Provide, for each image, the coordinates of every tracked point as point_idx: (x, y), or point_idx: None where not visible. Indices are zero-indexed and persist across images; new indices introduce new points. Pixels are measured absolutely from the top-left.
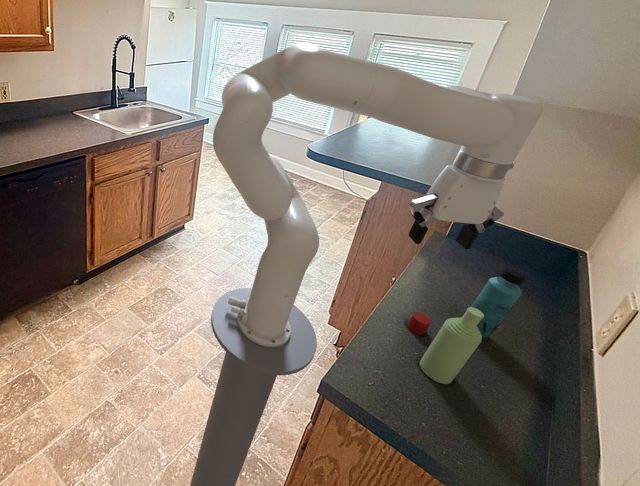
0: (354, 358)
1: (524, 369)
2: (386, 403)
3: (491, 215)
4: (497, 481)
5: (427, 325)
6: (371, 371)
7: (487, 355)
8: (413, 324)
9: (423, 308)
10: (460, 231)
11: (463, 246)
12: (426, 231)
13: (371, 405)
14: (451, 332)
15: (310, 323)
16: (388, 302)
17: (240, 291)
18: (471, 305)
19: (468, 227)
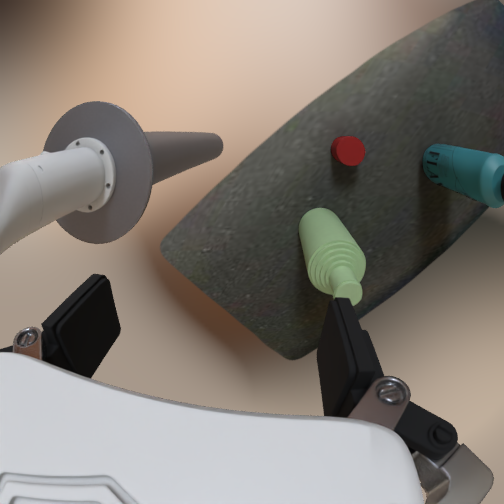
0: (199, 212)
1: (445, 226)
2: (214, 274)
3: (435, 483)
4: (288, 339)
5: (352, 165)
6: (216, 232)
7: (419, 203)
8: (334, 153)
9: (388, 107)
10: (338, 337)
11: (318, 348)
12: (91, 375)
13: (194, 276)
14: (308, 273)
15: (148, 158)
16: (329, 89)
17: (69, 116)
18: (446, 150)
19: (348, 392)
